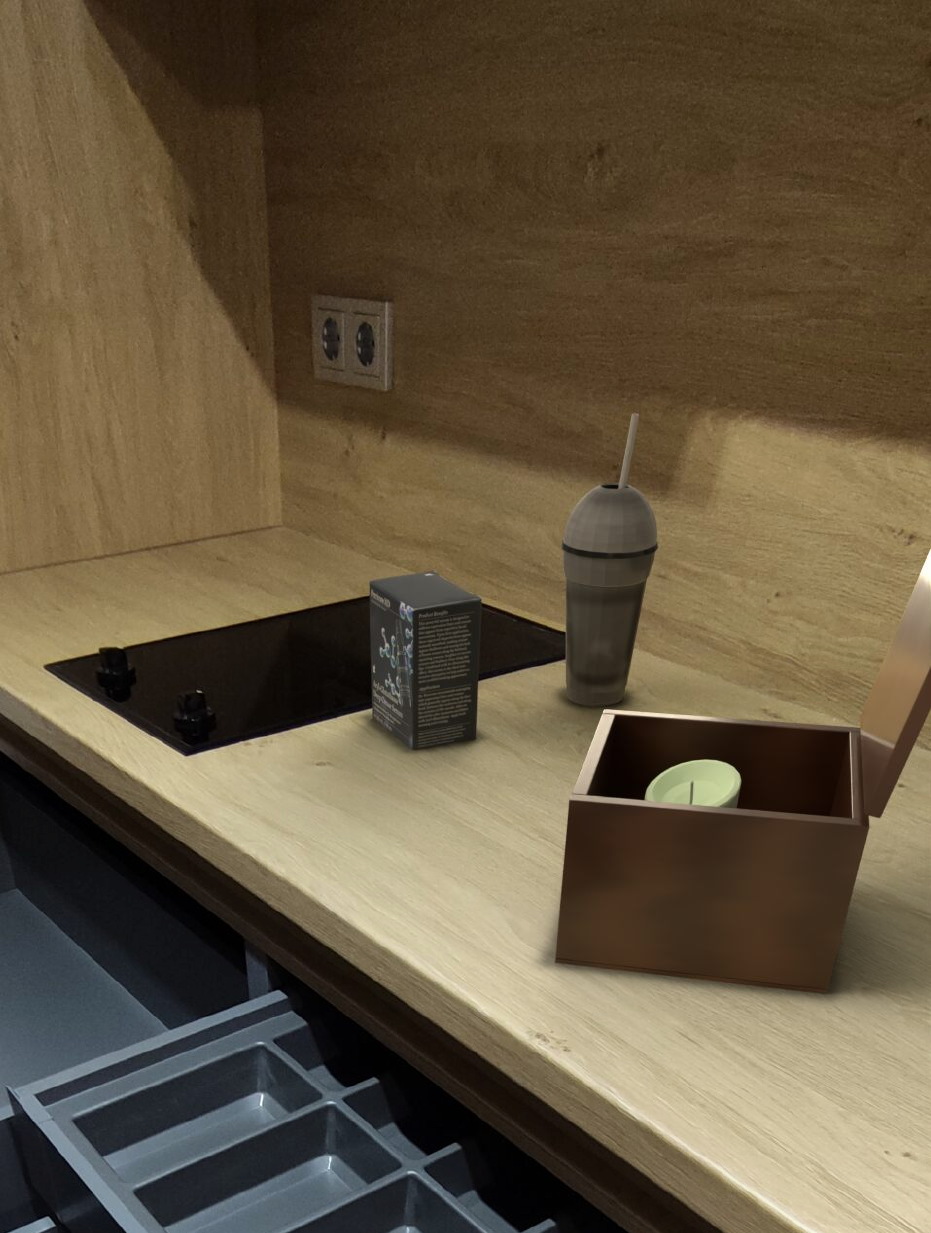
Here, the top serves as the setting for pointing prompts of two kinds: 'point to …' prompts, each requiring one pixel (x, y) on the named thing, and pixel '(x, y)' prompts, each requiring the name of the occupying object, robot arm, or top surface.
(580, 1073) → the top surface
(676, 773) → the candle
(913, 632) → the lid
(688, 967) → the chest
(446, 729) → the box
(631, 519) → the beverage cup
